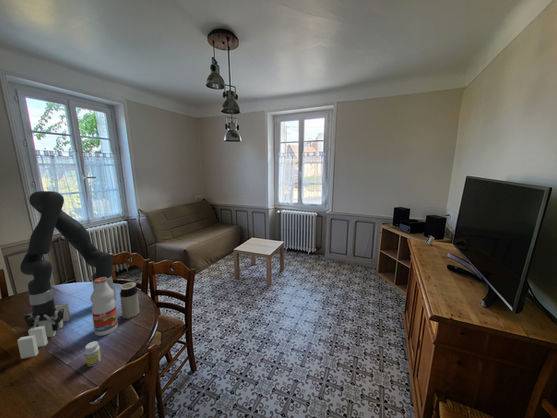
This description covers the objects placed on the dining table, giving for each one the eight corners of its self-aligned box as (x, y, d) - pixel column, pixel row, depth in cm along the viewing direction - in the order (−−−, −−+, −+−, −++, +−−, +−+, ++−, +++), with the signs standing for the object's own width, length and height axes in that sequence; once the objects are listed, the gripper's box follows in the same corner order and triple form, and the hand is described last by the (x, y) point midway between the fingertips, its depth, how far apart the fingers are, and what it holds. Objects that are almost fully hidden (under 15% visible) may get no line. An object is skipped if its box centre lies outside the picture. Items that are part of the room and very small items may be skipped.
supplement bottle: (92, 357, 94) (90, 340, 93) (104, 356, 94) (101, 340, 93) (83, 367, 89) (81, 349, 88) (95, 366, 90) (93, 348, 88)
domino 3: (53, 336, 105) (50, 320, 104) (41, 338, 104) (37, 321, 102) (56, 333, 107) (53, 317, 105) (43, 335, 105) (40, 319, 104)
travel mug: (126, 321, 117) (123, 290, 114) (120, 315, 121) (116, 286, 118) (142, 313, 124) (139, 284, 121) (135, 308, 128) (132, 280, 125)
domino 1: (24, 355, 94) (20, 337, 93) (38, 352, 96) (35, 334, 94) (21, 358, 93) (17, 340, 91) (35, 356, 94) (32, 337, 93)
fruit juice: (120, 321, 117) (114, 273, 112) (115, 333, 108) (109, 281, 104) (98, 326, 113) (91, 276, 108) (92, 338, 104) (84, 285, 100)
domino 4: (59, 320, 117) (56, 305, 115) (70, 318, 118) (67, 303, 117) (57, 322, 115) (54, 307, 113) (68, 320, 116) (65, 305, 115)
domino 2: (34, 345, 100) (31, 327, 98) (47, 342, 101) (44, 325, 100) (31, 348, 98) (28, 330, 97) (45, 345, 100) (41, 328, 98)
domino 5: (51, 327, 111) (49, 311, 110) (63, 325, 113) (61, 310, 111) (49, 330, 109) (46, 314, 108) (61, 328, 111) (58, 312, 109)
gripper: (15, 307, 96) (22, 340, 99) (56, 301, 101) (61, 333, 104) (28, 297, 103) (34, 329, 106) (65, 293, 108) (70, 323, 111)
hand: (47, 331), depth 105 cm, fingers open, 5 cm apart
